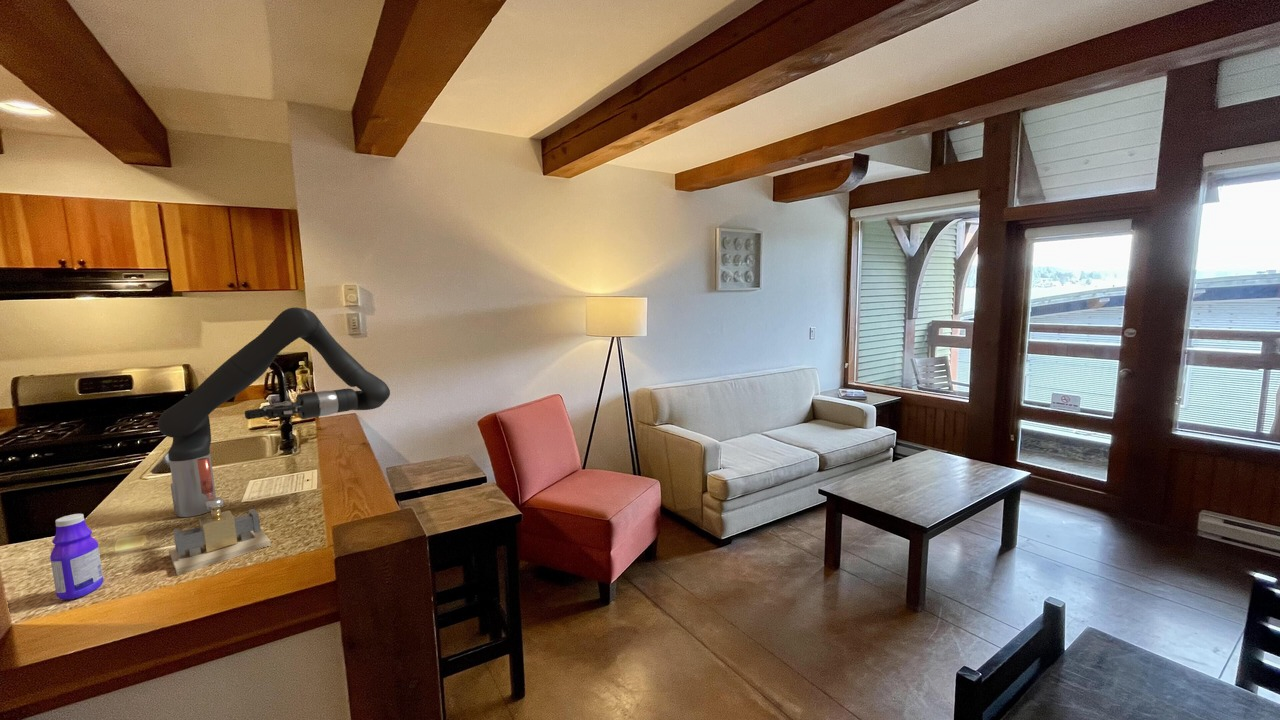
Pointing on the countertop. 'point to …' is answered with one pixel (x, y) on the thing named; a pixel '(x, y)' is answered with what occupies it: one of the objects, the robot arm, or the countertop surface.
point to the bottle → (75, 558)
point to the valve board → (217, 553)
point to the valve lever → (208, 484)
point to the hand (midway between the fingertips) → (245, 415)
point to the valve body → (216, 532)
